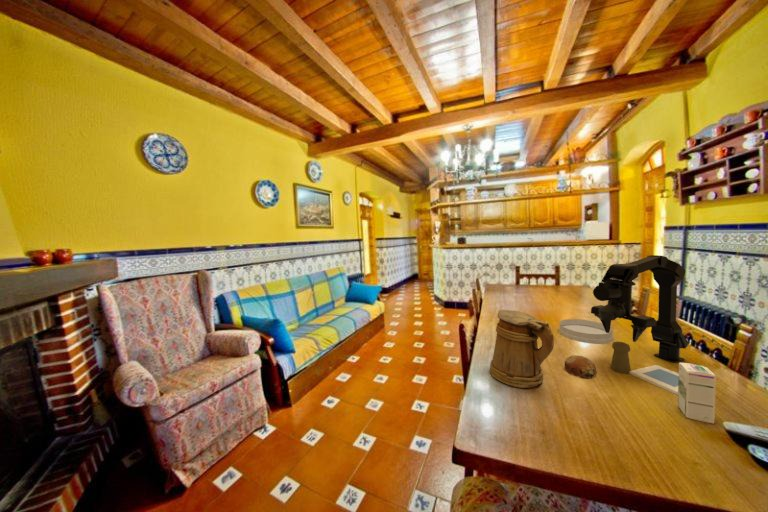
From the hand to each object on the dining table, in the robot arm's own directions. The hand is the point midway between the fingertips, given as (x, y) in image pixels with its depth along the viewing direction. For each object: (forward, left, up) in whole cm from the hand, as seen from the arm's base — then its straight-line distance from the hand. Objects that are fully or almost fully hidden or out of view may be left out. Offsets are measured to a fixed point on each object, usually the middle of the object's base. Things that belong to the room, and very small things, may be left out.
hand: (620, 336), depth 99 cm
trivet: (-7, +10, -13) cm, 18 cm away
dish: (-20, -30, -14) cm, 38 cm away
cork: (0, 0, -14) cm, 14 cm away
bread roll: (+15, -4, -14) cm, 20 cm away
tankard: (+39, -8, -14) cm, 42 cm away
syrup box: (+7, +24, -14) cm, 28 cm away
